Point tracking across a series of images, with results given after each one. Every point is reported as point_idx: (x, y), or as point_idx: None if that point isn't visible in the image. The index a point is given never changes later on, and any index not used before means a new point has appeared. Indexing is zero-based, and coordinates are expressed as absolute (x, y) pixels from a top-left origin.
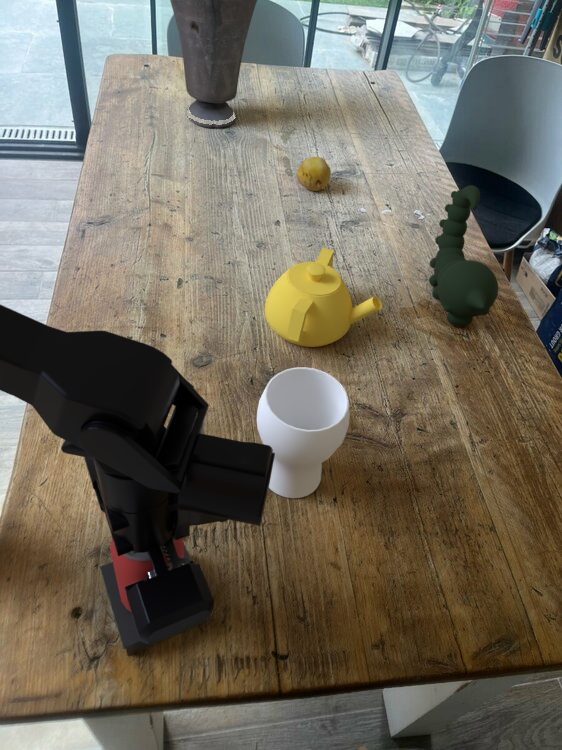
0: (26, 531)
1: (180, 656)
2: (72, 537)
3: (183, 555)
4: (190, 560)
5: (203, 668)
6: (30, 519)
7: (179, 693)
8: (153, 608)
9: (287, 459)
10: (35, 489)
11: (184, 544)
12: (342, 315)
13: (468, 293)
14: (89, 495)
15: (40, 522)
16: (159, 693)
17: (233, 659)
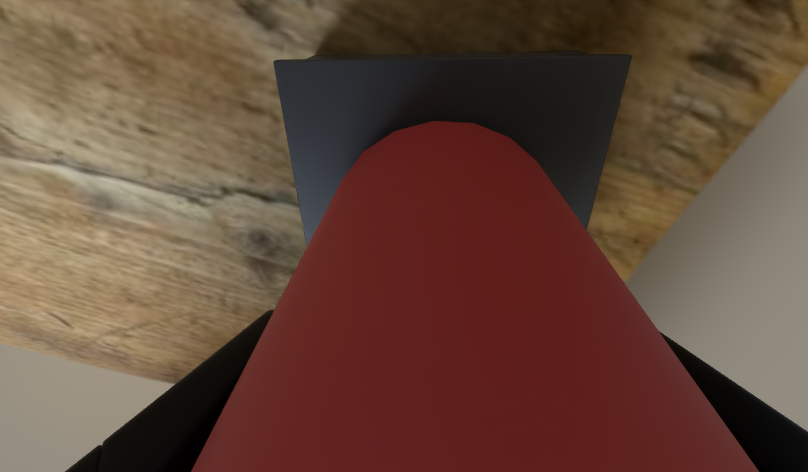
0: (188, 363)
1: (616, 163)
2: (214, 300)
3: (564, 277)
4: (393, 61)
5: (690, 115)
6: (160, 354)
7: (694, 193)
8: None
9: None
10: (82, 336)
11: (314, 60)
12: None
13: None
14: (93, 247)
15: (169, 341)
16: (657, 233)
17: (744, 10)
